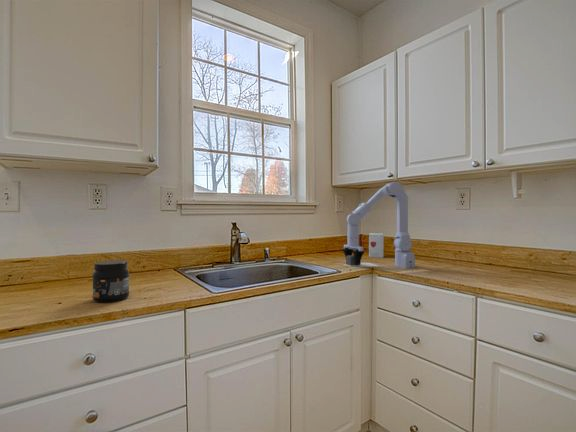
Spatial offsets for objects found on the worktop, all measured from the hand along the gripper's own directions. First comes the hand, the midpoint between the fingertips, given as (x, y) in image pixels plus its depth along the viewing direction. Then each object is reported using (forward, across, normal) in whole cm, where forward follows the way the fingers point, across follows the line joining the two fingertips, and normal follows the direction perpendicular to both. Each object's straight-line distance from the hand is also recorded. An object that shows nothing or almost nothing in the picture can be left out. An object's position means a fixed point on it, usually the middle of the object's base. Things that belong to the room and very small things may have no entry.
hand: (353, 263), depth 160 cm
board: (+2, 0, +5) cm, 5 cm away
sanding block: (+1, 0, 0) cm, 1 cm away
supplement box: (+2, -30, +38) cm, 48 cm away
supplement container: (+2, +19, -106) cm, 108 cm away
